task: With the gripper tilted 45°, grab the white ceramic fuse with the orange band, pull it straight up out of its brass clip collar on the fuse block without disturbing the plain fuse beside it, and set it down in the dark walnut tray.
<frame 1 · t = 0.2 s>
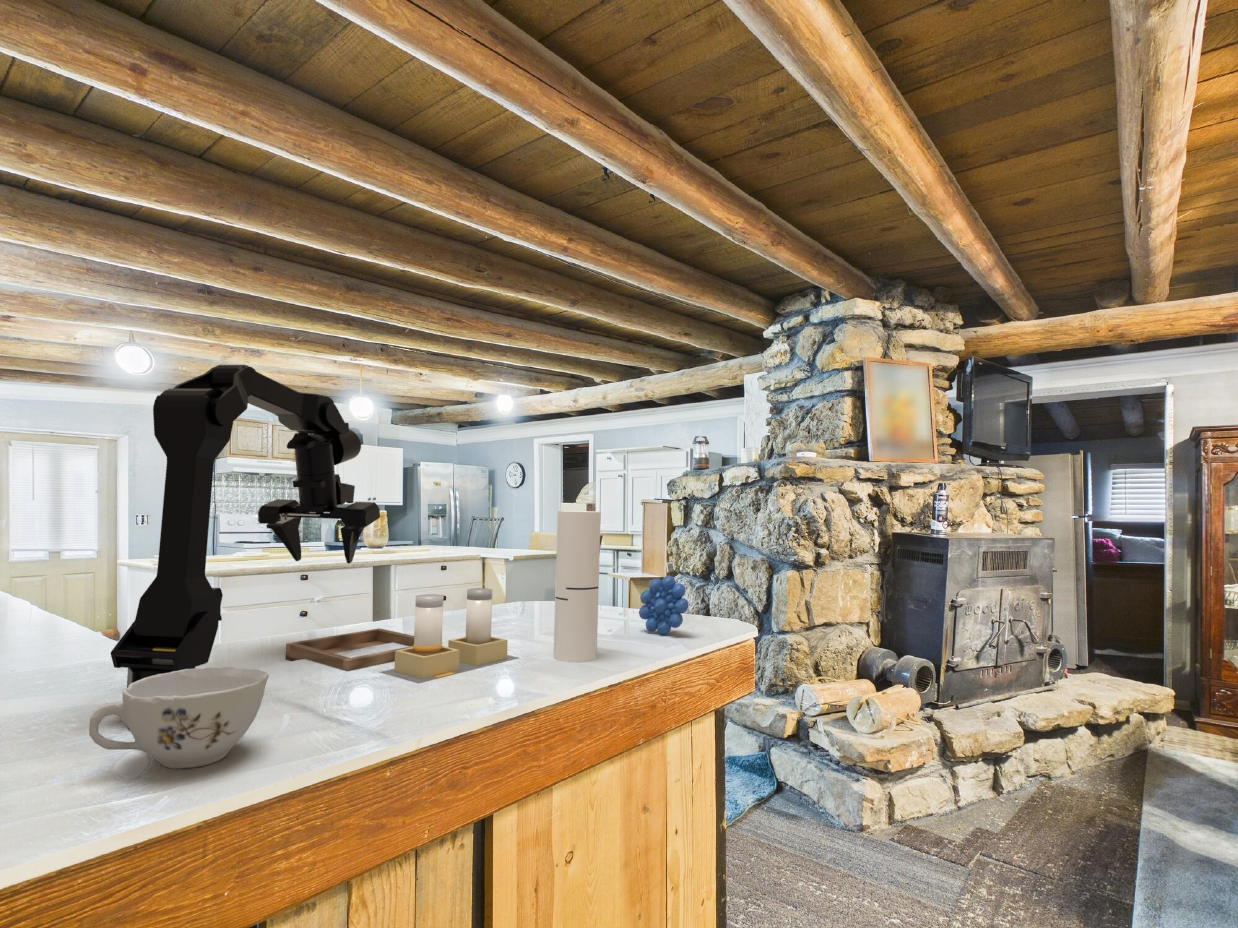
hand: (323, 561, 115), 15 cm above the counter, tool pointing down, fingers open, 9 cm apart
lemon: (170, 668, 103), on the counter
tray: (364, 657, 112), on the counter
grapes: (665, 635, 138), on the counter
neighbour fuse: (477, 658, 109), point 1 cm above the counter, touching fuse block
cylindrical container: (574, 664, 112), on the counter
teacup: (180, 763, 68), on the counter
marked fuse: (426, 670, 101), point 1 cm above the counter, touching fuse block
fuse block: (426, 677, 101), on the counter
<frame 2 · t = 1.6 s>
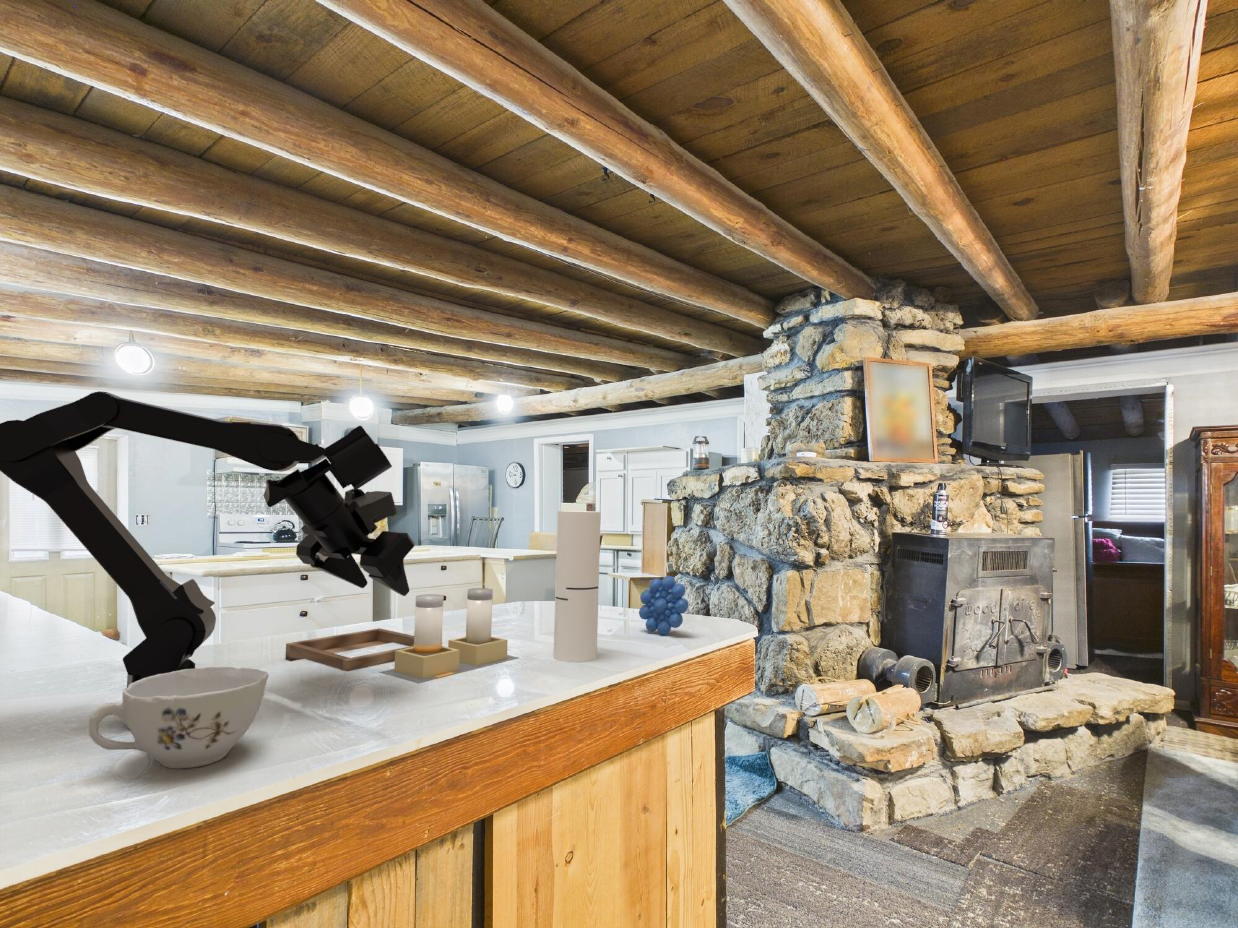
hand: (385, 589, 97), 14 cm above the counter, tool tilted 45°, fingers open, 9 cm apart
nothing on the counter moved.
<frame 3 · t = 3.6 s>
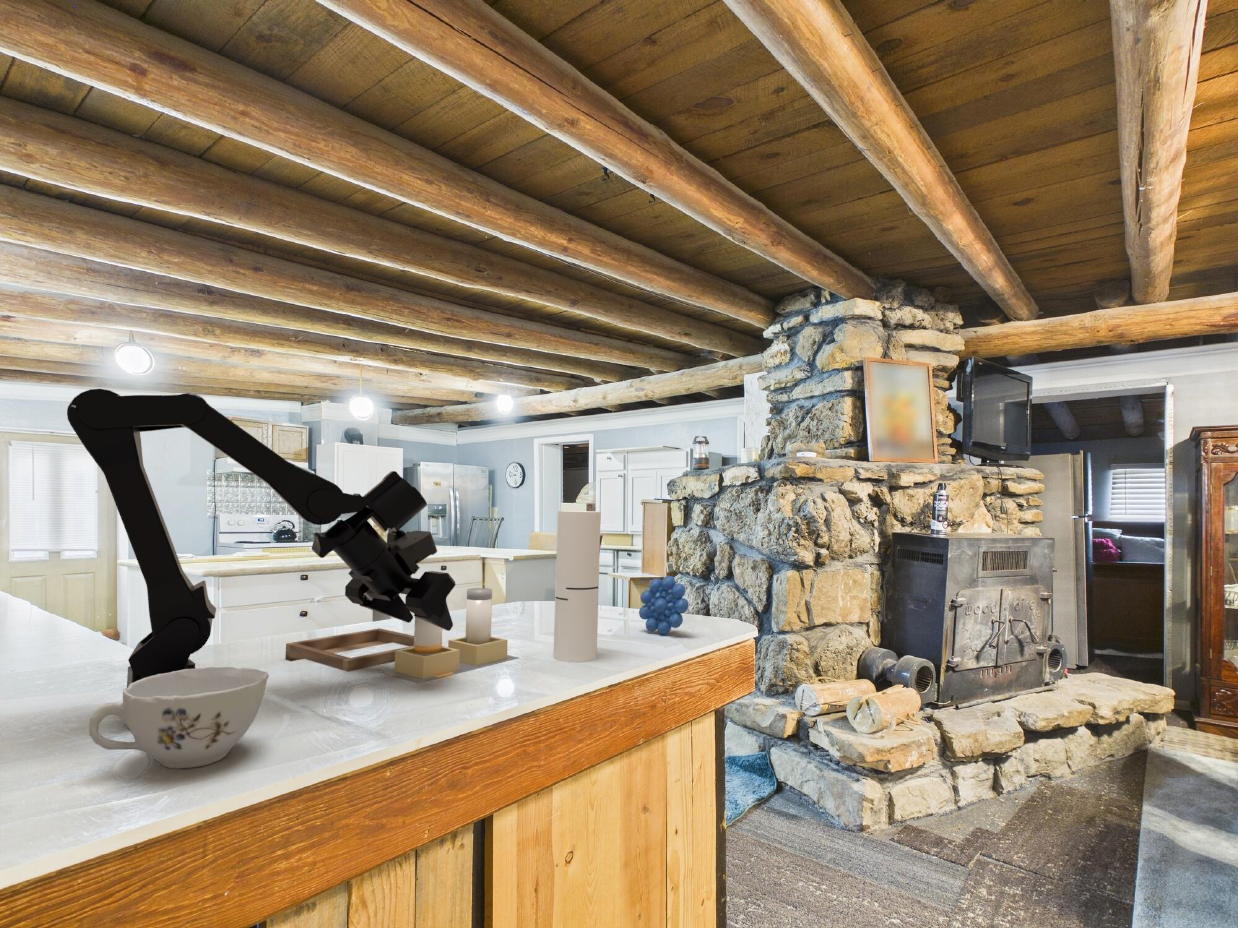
hand: (430, 623, 102), 8 cm above the counter, tool tilted 45°, fingers open, 9 cm apart
nothing on the counter moved.
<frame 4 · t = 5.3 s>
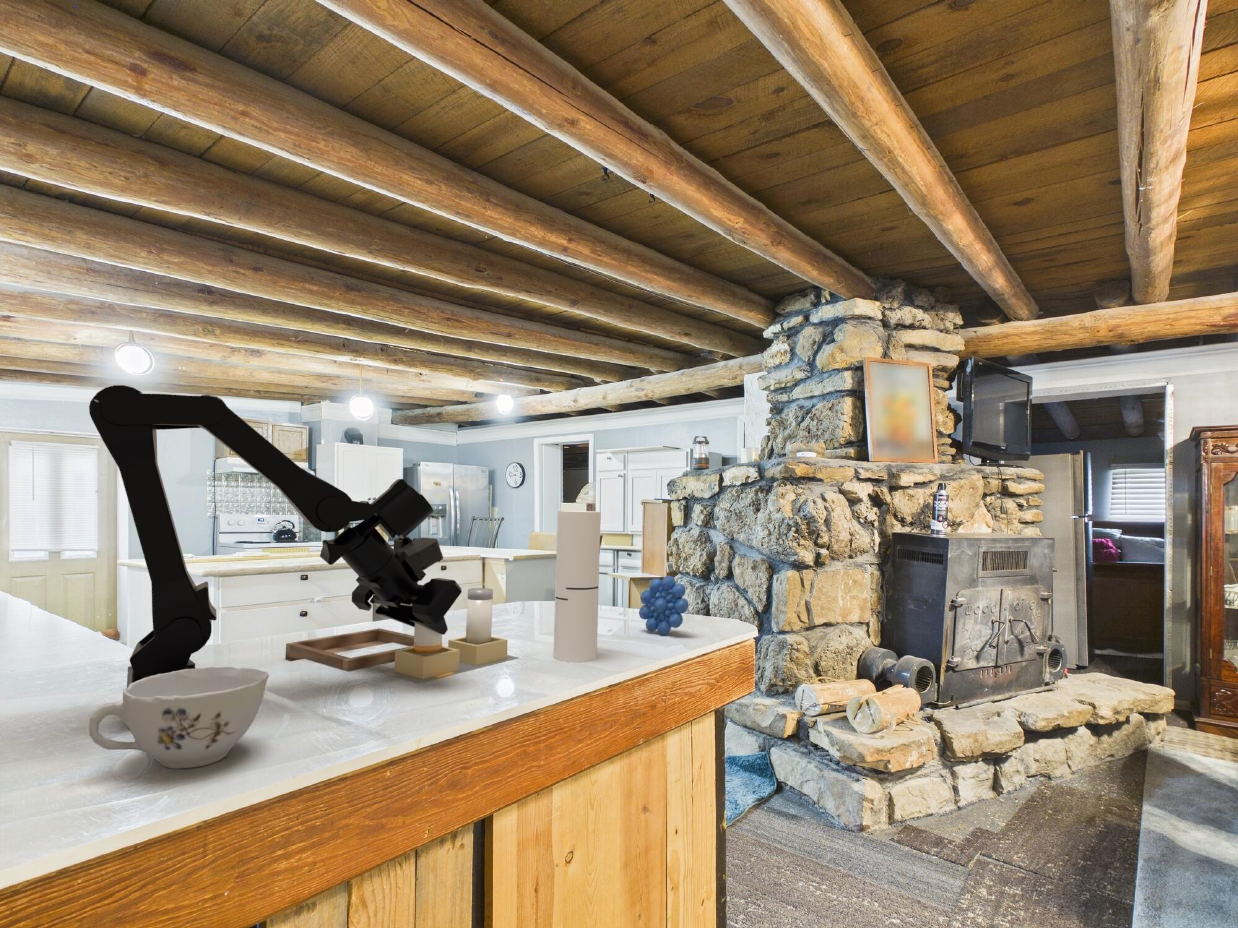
hand: (435, 630, 103), 7 cm above the counter, tool tilted 45°, fingers closed on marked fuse, 4 cm apart
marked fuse: (426, 670, 101), point 1 cm above the counter, touching fuse block, gripper
everything else where it was.
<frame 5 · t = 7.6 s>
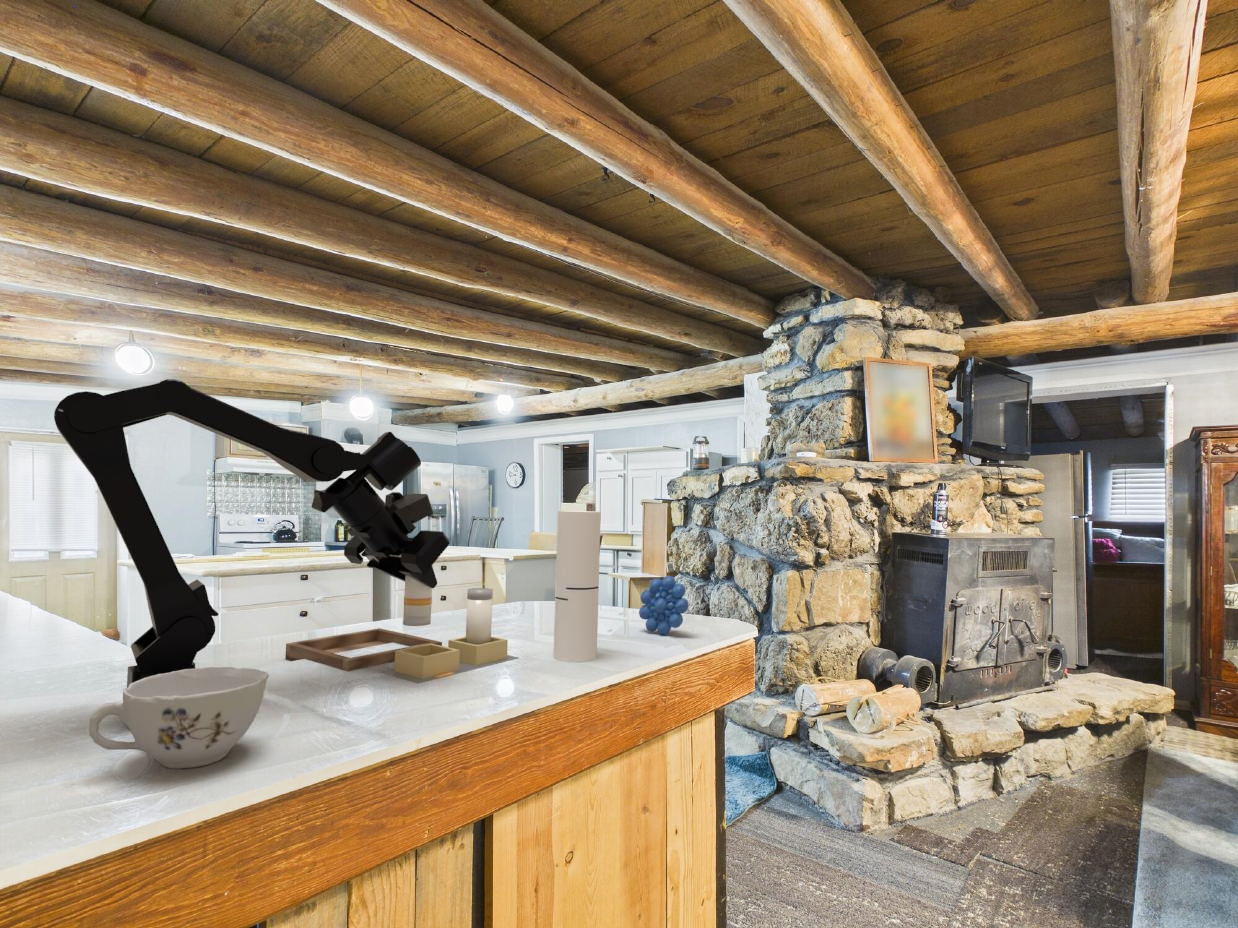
hand: (426, 584, 105), 13 cm above the counter, tool tilted 45°, fingers closed on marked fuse, 4 cm apart
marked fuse: (416, 623, 103), point 8 cm above the counter, touching gripper
everything else where it was.
when the fingers open (8 cm above the counter, at t = 10.4 s): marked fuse drops 1 cm, resting on tray.
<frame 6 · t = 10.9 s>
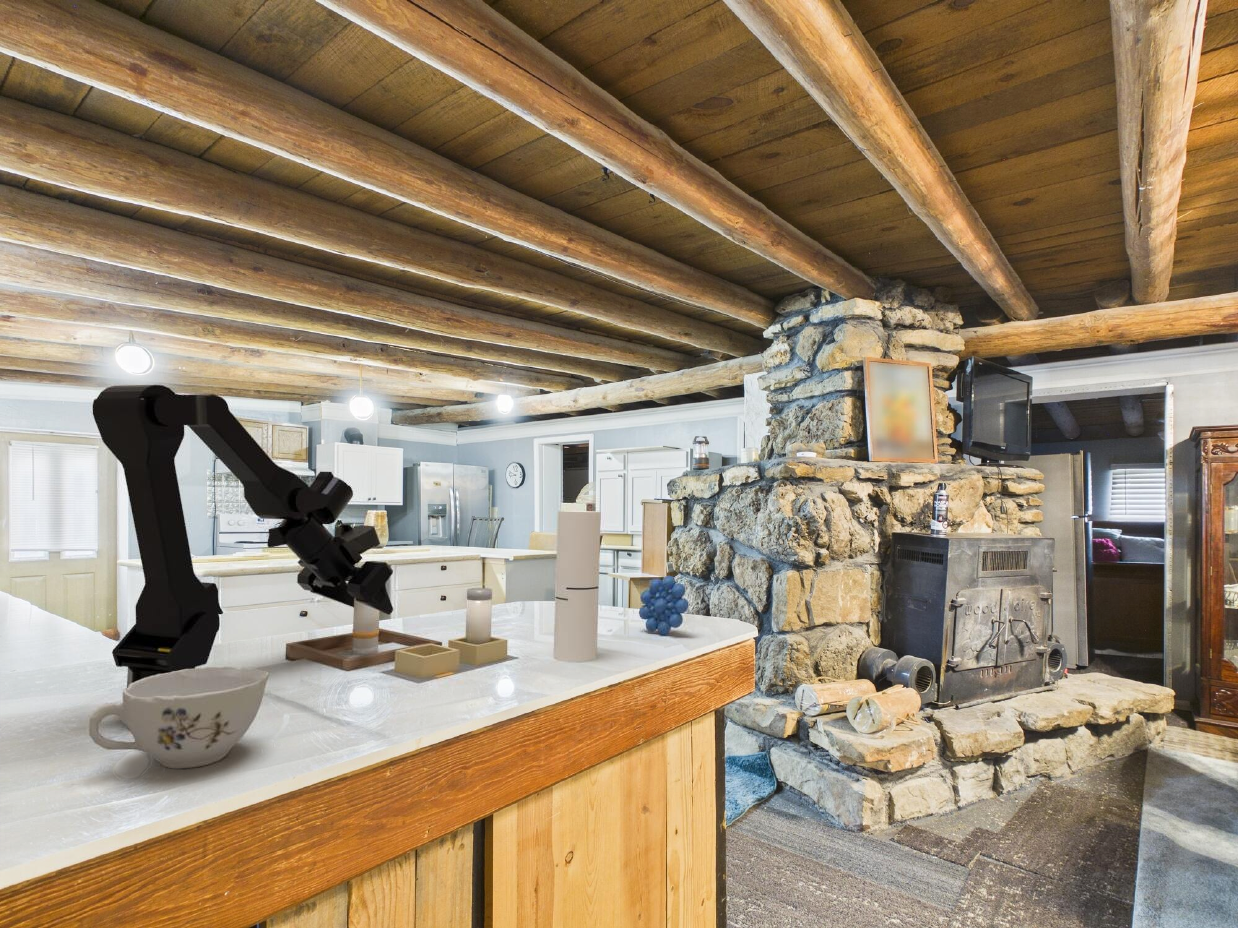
hand: (374, 608, 113), 8 cm above the counter, tool tilted 45°, fingers open, 9 cm apart
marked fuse: (364, 653, 112), point 1 cm above the counter, touching tray
everything else where it was.
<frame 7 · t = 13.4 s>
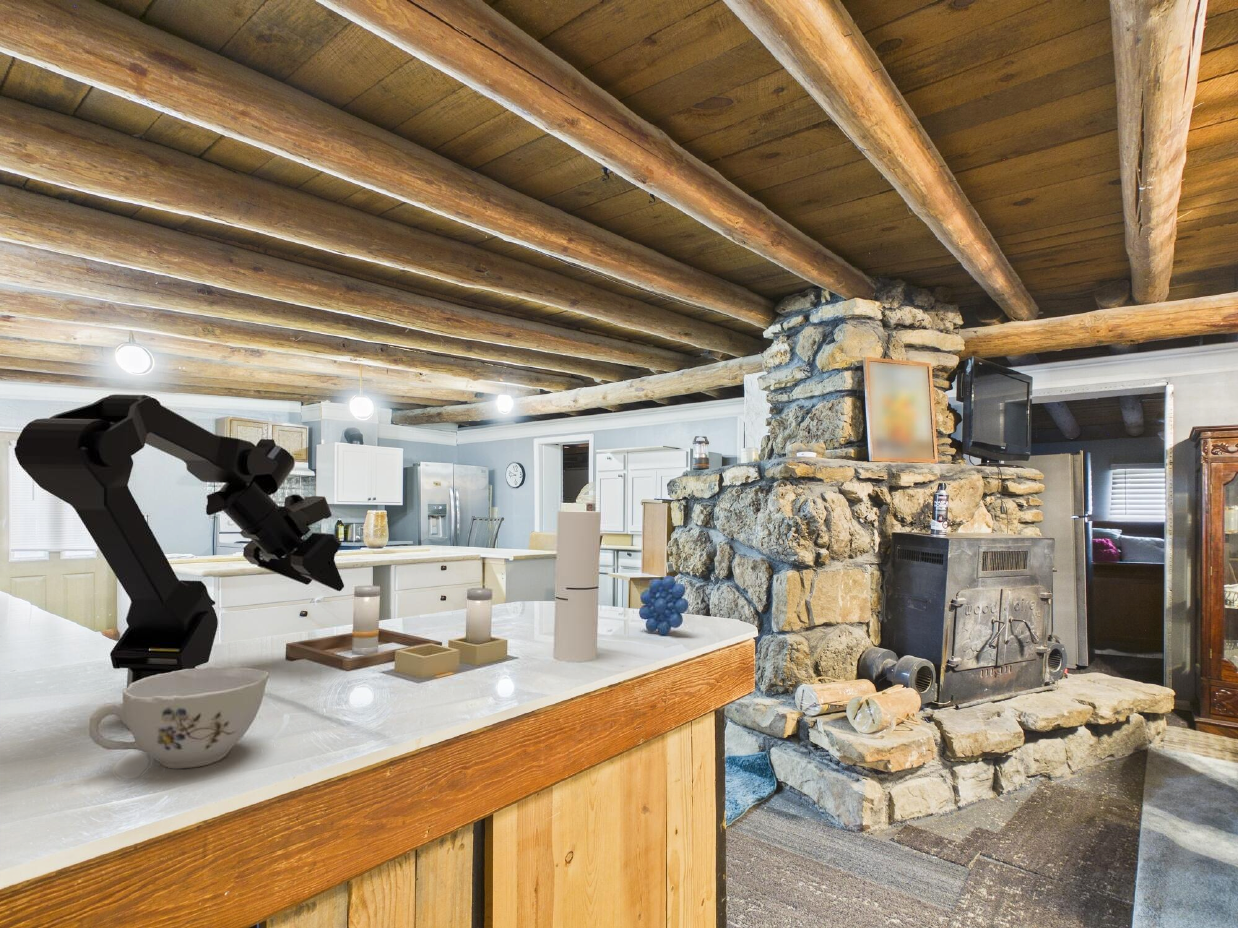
hand: (325, 585, 106), 13 cm above the counter, tool tilted 45°, fingers open, 9 cm apart
nothing on the counter moved.
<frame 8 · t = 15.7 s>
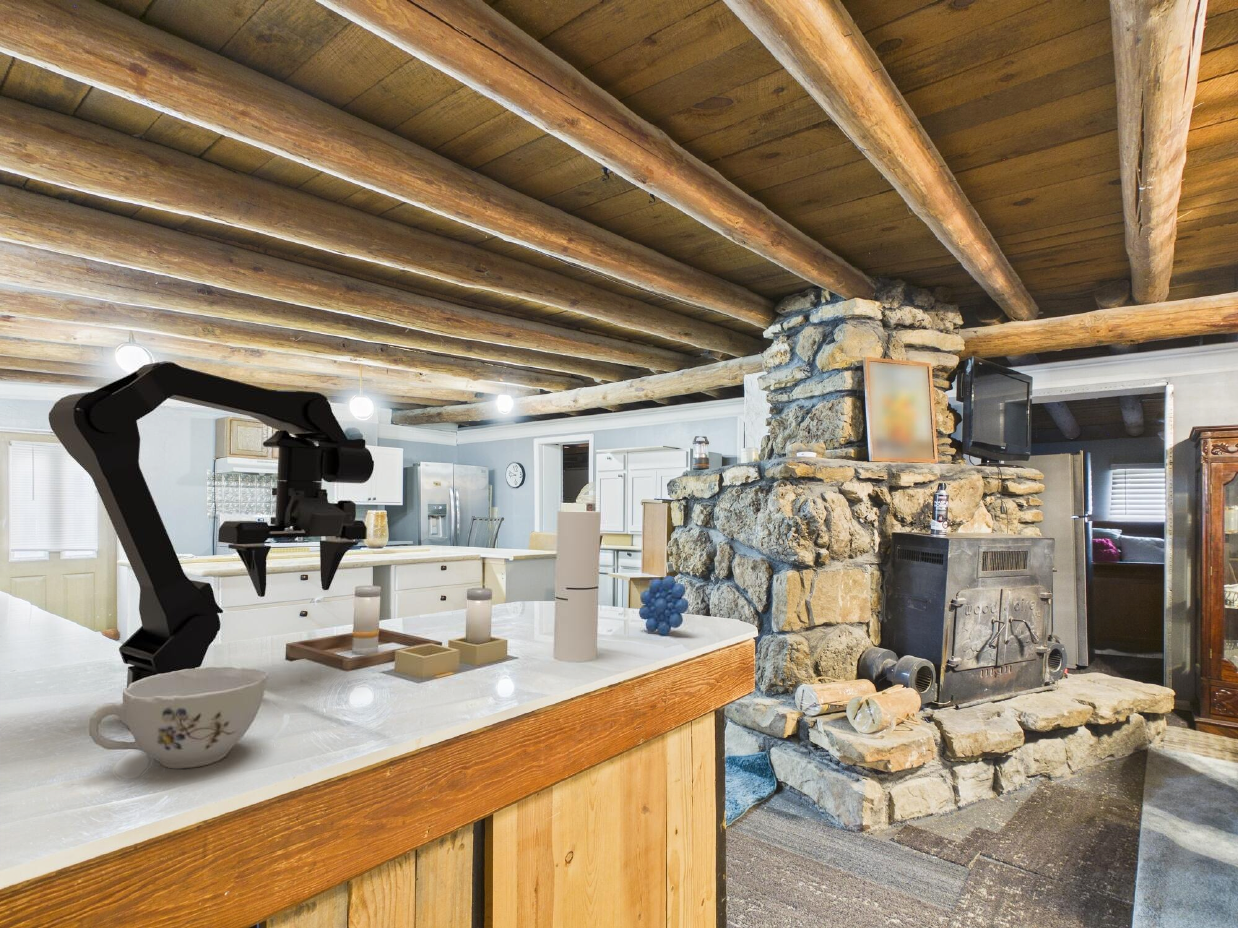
hand: (294, 593, 95), 13 cm above the counter, tool pointing down, fingers open, 9 cm apart
nothing on the counter moved.
at the end: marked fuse inside the target area on the tray (0.0 cm from its centre), point 0.6 cm above the tray's base; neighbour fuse moved 0.0 cm from its start; the gripper is holding nothing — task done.
